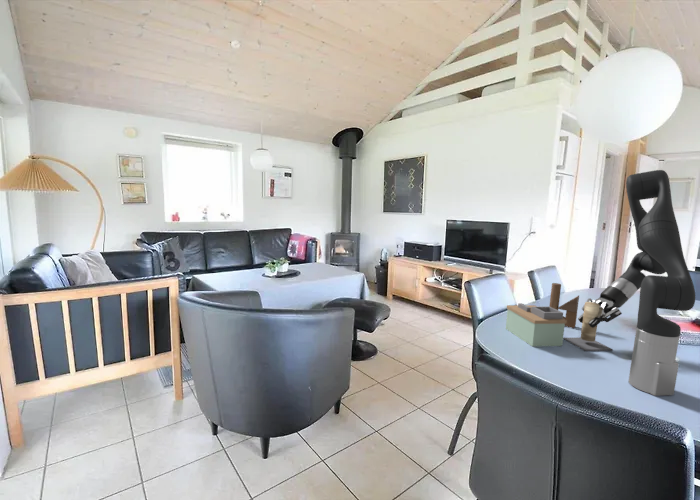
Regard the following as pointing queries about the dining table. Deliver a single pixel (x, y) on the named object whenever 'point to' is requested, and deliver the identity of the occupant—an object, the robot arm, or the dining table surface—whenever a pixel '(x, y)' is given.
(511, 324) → the pale green box
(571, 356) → the dining table surface
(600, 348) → the charcoal mat
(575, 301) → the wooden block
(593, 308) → the tan ridged cylinder
